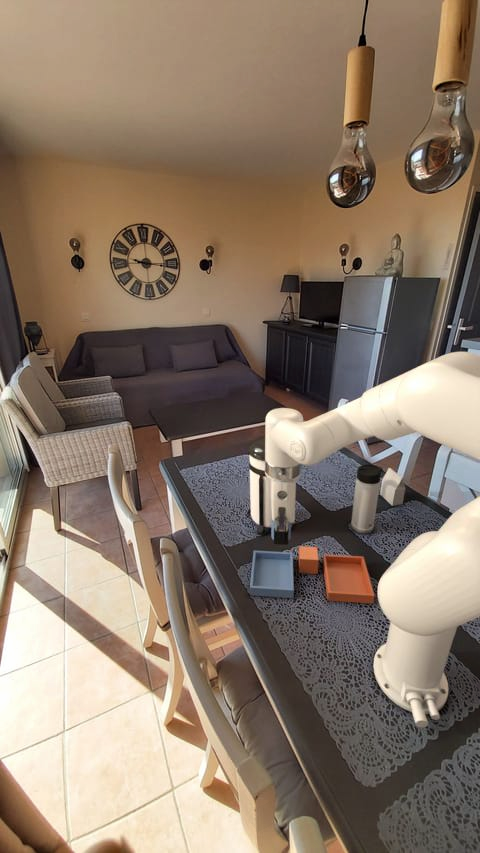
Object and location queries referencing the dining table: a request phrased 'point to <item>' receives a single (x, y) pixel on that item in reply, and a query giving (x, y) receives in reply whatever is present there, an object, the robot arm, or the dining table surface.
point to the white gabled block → (392, 488)
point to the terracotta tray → (347, 579)
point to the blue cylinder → (278, 524)
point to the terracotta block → (308, 560)
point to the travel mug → (366, 498)
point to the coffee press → (259, 486)
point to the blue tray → (272, 574)
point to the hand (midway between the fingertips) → (281, 535)
